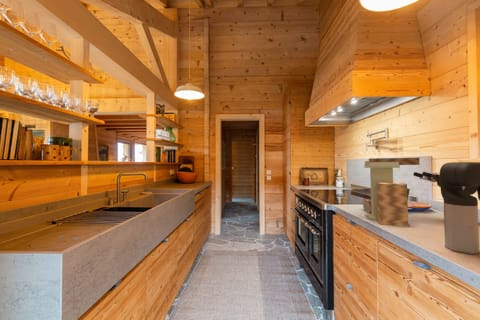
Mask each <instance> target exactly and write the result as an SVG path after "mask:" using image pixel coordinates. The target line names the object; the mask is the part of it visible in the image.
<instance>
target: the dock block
mask: <svg viewBox="0 0 480 320" xmlns="http://www.w3.org/2000/svg"><path fill="white" fill-rule="evenodd" d="M407 188H408V184H406V183H404V182H393V183H377V211H378V219H377V221H376V222H377V223H378V224H379V225H381V226H395V227H397V226H398V227H406V226H408V228H410V223H409V211H408V210H409V209H408V207H409V206H408V201H407Z"/></svg>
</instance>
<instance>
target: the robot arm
mask: <svg viewBox="0 0 480 320" xmlns="http://www.w3.org/2000/svg"><path fill="white" fill-rule="evenodd" d="M412 176H413V177H416V178H419V179H420V180H425V181H428V182H432V183H436V185H437V186H438V187H439V189H440V194H441V197H442V199H443V200H442V201H443V225H444V226H443V227H444V228H443V229H444V246H445V248H447V249H449V250H451V251H455V252H460V253H465V254H470V255H477V254H479V253H480V233H479V232H480V230H479V202H478V200H479V201H480V162H468V161H467V162H465V161H464V162H463V161H462V162H459V161H458V162H456V161H455V162H454V161H453V162H452V161H451V162H447V163H443V164H442V165H441V167H440V170H439V174H438V173H431V172H427V171H422V173H420V172H416V171H414V172H413V174H412ZM476 193H477V197H475V196H474V194H476Z"/></svg>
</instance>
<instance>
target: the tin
mask: <svg viewBox="0 0 480 320" xmlns="http://www.w3.org/2000/svg"><path fill="white" fill-rule="evenodd" d="M362 207H363V210H364V211H365V212H366V213H367V214H371V199H369V198H363V199H362Z"/></svg>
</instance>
